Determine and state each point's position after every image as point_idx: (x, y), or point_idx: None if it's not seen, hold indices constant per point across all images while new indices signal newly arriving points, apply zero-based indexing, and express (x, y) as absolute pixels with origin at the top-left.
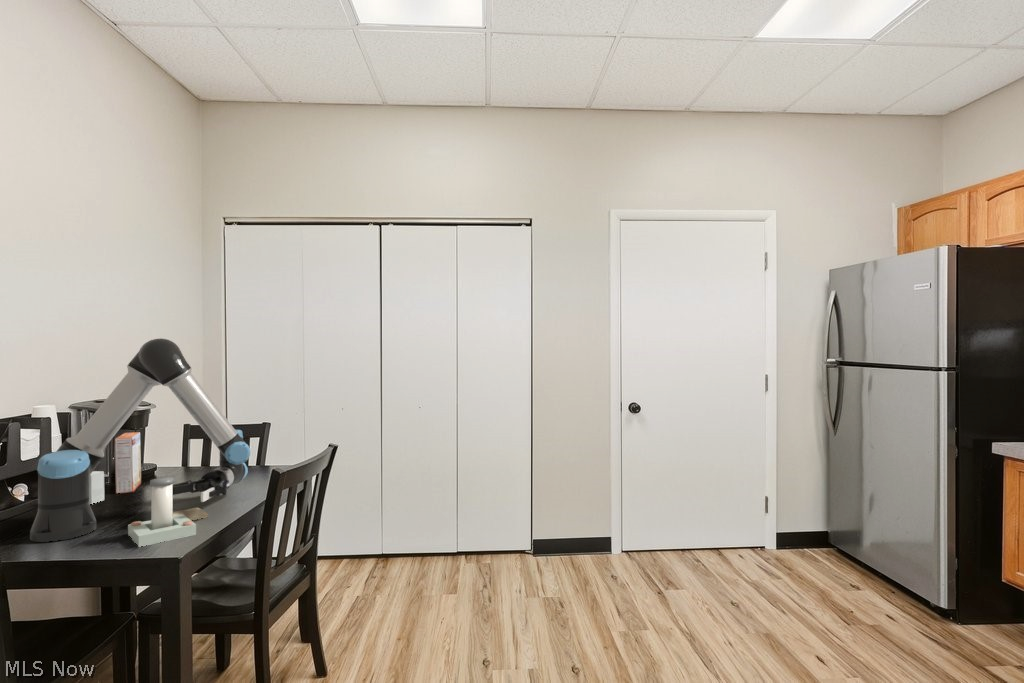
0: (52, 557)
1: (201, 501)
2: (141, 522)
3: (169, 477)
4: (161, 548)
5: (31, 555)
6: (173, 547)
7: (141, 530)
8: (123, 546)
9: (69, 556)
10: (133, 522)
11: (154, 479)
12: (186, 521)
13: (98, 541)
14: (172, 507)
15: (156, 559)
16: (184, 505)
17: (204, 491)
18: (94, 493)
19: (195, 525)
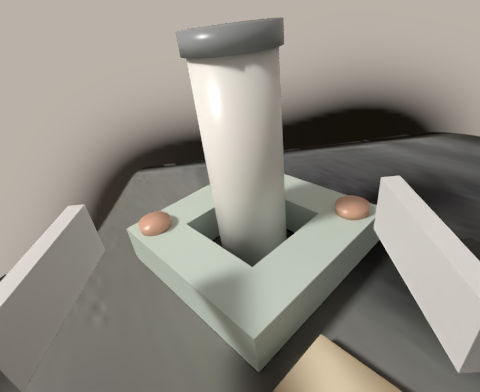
0: (394, 147)
1: (100, 249)
2: (356, 226)
3: (214, 28)
4: (193, 189)
5: (458, 146)
6: (168, 194)
7: None
8: None
9: (363, 152)
10: (365, 203)
11: (273, 19)
12: (162, 225)
13: None
14: (210, 175)
15: (175, 163)
16: None
17: (60, 228)
18: None
19: (129, 231)
